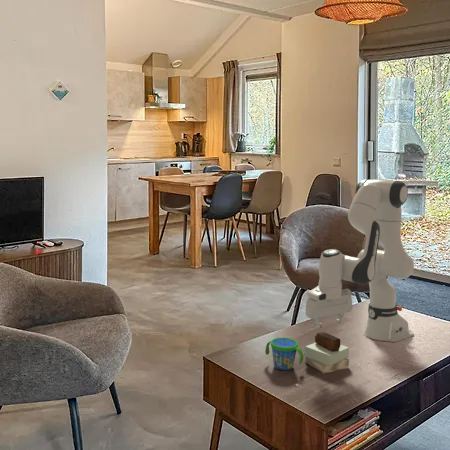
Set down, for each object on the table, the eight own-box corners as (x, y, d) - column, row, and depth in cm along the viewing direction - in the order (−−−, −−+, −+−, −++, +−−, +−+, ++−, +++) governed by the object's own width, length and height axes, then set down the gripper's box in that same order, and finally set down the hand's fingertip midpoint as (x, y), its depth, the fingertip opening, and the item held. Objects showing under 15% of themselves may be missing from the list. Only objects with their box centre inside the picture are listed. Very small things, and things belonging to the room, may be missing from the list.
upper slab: (323, 348, 225) (324, 338, 224) (348, 357, 216) (348, 347, 216) (305, 356, 217) (305, 346, 216) (329, 365, 208) (330, 355, 208)
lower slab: (329, 357, 225) (329, 348, 225) (348, 369, 215) (348, 359, 214) (305, 363, 220) (305, 353, 219) (323, 375, 209) (323, 365, 209)
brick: (340, 350, 213) (341, 338, 212) (332, 352, 211) (333, 340, 210) (322, 341, 222) (322, 330, 221) (314, 343, 220) (314, 332, 219)
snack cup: (308, 368, 214) (308, 343, 212) (292, 377, 206) (293, 351, 204) (275, 357, 224) (275, 333, 222) (259, 365, 216) (260, 341, 214)
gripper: (346, 285, 220) (345, 318, 223) (303, 292, 211) (302, 327, 214) (356, 290, 215) (355, 323, 217) (313, 297, 206) (312, 332, 208)
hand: (328, 325), depth 215 cm, fingers open, 8 cm apart
